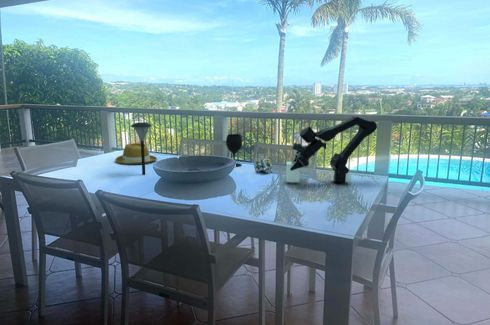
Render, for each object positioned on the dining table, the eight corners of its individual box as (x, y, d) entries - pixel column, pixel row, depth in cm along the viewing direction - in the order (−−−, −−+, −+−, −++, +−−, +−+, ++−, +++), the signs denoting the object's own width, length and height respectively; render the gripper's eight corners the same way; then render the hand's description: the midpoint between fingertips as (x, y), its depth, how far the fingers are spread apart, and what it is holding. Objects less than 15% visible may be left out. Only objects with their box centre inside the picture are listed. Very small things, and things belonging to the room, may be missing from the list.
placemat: (302, 187, 189) (302, 187, 189) (275, 185, 194) (275, 184, 194) (309, 178, 210) (309, 177, 209) (285, 175, 214) (285, 175, 214)
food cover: (298, 179, 200) (299, 160, 198) (299, 182, 194) (299, 163, 192) (286, 178, 201) (286, 160, 199) (286, 181, 194) (287, 162, 192)
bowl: (296, 183, 196) (296, 178, 196) (290, 184, 195) (290, 179, 195) (294, 181, 200) (294, 177, 199) (288, 182, 199) (288, 177, 198)
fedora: (145, 156, 270) (145, 140, 268) (164, 162, 249) (163, 145, 246) (109, 160, 254) (108, 143, 251) (125, 167, 232) (124, 149, 230)
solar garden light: (157, 172, 219) (155, 122, 213) (150, 177, 207) (148, 124, 201) (137, 171, 220) (135, 121, 214) (129, 176, 208) (126, 123, 202)
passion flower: (268, 182, 220) (267, 169, 212) (251, 177, 224) (250, 164, 215) (275, 169, 227) (275, 156, 218) (259, 164, 231) (258, 151, 222)
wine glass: (235, 167, 234) (235, 136, 230) (222, 165, 240) (222, 135, 236) (245, 165, 242) (245, 134, 238) (232, 163, 248) (232, 133, 244)
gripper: (300, 135, 201) (279, 154, 204) (303, 140, 183) (280, 161, 186) (314, 149, 202) (293, 168, 205) (318, 156, 184) (295, 176, 187)
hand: (290, 168), depth 196 cm, fingers closed on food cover, 6 cm apart
